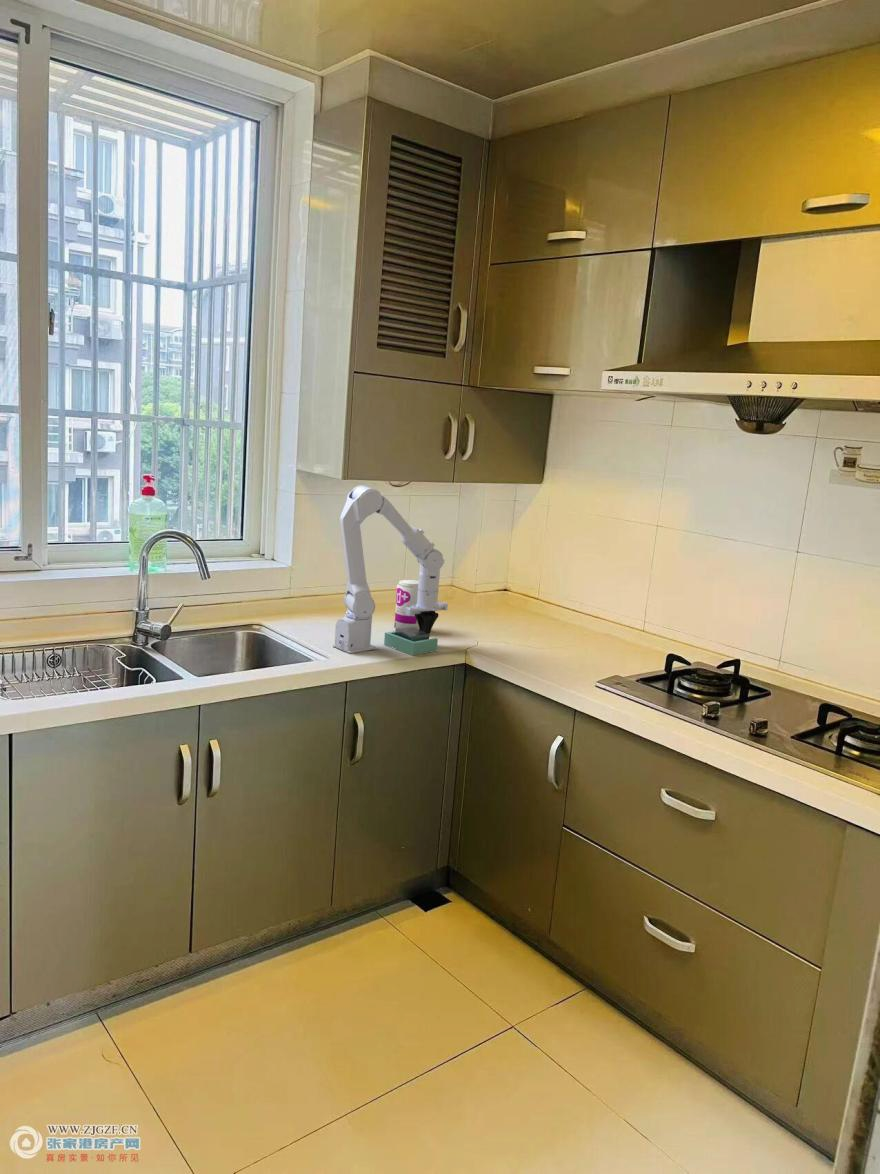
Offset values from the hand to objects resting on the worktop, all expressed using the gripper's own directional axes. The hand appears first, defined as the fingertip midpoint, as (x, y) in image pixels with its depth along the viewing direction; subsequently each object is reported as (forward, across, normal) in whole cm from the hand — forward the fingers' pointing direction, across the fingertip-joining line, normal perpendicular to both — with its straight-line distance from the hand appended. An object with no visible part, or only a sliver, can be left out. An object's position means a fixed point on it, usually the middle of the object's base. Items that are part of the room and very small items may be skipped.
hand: (424, 637), depth 248 cm
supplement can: (+3, +7, +14) cm, 16 cm away
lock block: (+2, -4, +1) cm, 5 cm away
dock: (+2, -5, 0) cm, 6 cm away
